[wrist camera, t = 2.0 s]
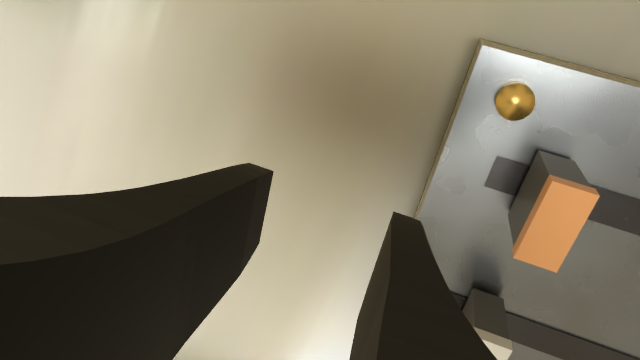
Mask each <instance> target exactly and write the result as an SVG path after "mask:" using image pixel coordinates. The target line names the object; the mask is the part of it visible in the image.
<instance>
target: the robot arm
mask: <svg viewBox="0 0 640 360" xmlns="http://www.w3.org/2000/svg"><path fill="white" fill-rule="evenodd" d="M272 176H273V171H271V170H269V169H266V168H263V167H260V166H257V165H254V164H251V163H246V164H240V165H235V166H231V167H227V168H223V169H219V170H215V171H211V172H207V173H203V174H199V175H195V176H191V177H188V178H183V179H179V180H174V181H169V182H164V183H160V184H155V185H150V186H145V187H140V188H134V189H127V190H120V191H112V192H103V193H94V194H83V195H62V196H41V197H0V360H172V359H173V358H174V357H175V355H176V354H177V353H178V351H179V350H180V349H181V347H182V346H183V345H184V343H185V342H186V341H187V340H188V339H189V337H190V336H191V335H192V334H193V332H194V331H195V330H196V329H197V328H198V326H199V325H200V324H201V323H202V321H203V320H204V319H205V318H206V317H207V315H208V314H209V313H210V312H211V310H212V309H213V308H214V307H215V306H216V304H217V303H218V302H219V301H220V299H221V298H222V297H223V296H224V294H225V293H226V292H227V291H228V290H229V288H230V287H231V286H232V285H233V283H234V282H235V281H236V280H237V278H238V277H239V276H240V274H241V273H242V271H243V269H244V268H245V266H246V265H247V263H248V261H249V260H250V258H251V256H252V255H253V253H254V251H255V249H256V248H257V246H258V244H259V241H260V236H261V231H262V226H263V221H264V216H265V211H266V206H267V201H268V196H269V191H270V186H271V181H272ZM350 360H497V358H496V357H495V356H494V355H493V354H492V352H491V351H490V350H489V348H488V347H487V346H486V345H485V343H484V342H483V341H482V339H481V338H480V336H479V335H478V334H477V332H476V331H475V329H474V328H473V326H472V325H471V324H470V322H469V321H468V319H467V318H466V316H465V315H464V313H463V312H462V310H461V309H460V307H459V305H458V304H457V302H456V300H455V298H454V297H453V295H452V293H451V291H450V289H449V288H448V286H447V284H446V282H445V280H444V277H443V275H442V273H441V271H440V269H439V267H438V264H437V262H436V260H435V257H434V255H433V253H432V250H431V247H430V245H429V242H428V239H427V236H426V234H425V230H424V227H423V225H422V223H421V221H420V220H417V219H414V218H411V217H408V216H405V215H402V214H399V213H396V212H393V215H392V218H391V221H390V224H389V227H388V229H387V232H386V235H385V238H384V241H383V244H382V247H381V250H380V253H379V256H378V258H377V261H376V264H375V267H374V270H373V273H372V276H371V279H370V282H369V285H368V288H367V291H366V294H365V297H364V300H363V304H362V307H361V310H360V313H359V316H358V319H357V324H356V329H355V334H354V339H353V344H352V350H351V355H350Z"/></svg>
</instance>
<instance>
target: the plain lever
mask: <svg viewBox="0 0 640 360" xmlns="http://www.w3.org/2000/svg"><path fill="white" fill-rule="evenodd" d="M462 312H463V313H464V315H465V316H466V318H467V319H468V321H469V322H470V324H471V325H472V326H473V328H474V329H475V331H476V332H477V334H478V335H479V336H480V338H481V339H482V341H483V342H484V343H485V345H486V346H487V347H488V348H489V350H490V351H491V352H492V354H493V355H494V356H495V357H496V358H497V360H508V358H509V356H510V355H511V353H512V351H513V350H512V343H511V340H509V336H508V328H507V321H506V313H505V305H504V299H503V298H500V297H497V296H494V295H492V294H489V293H486V292H483V291H480V290H477V289H475V288H473V289H472V291H471V293H470V295H469V298H468V300H467V302H466V304H465V306H464V308H463V310H462Z"/></svg>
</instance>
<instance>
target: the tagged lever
mask: <svg viewBox="0 0 640 360" xmlns="http://www.w3.org/2000/svg"><path fill="white" fill-rule="evenodd" d="M599 197H600V195H599V193H598V192H597V190H596V189H595V188H592V187H591V186H590V184H589V183H588V181H587V180H586V178H585V176H584V175H583V173H582V172H581V170H580V168H579V167H578V165H577V164H576V162H575V161H573V160H570V159H566V158H563V157H560V156H557V155H553V154H550V153H547V152H543V151H540V150H538V152H537V154H536V156H535V158H534V160H533V162H532V164H531V167H530V169H529V171H528V173H527V175H526V177H525V179H524V181H523V183H522V186H521V188H520V190H519V192H518V194H517V196H516V198H515V200H514V202H513V205H512V207H511V209H510V211H509V213H508V220H509V225H510V230H511V235H512V241H513V246H514V247H513V249H512V253H513V258H515V259H518V260H521V261H524V262H527V263H529V264H532V265H535V266H538V267H541V268H544V269H547V270H550V271H553V272H556V273H557V271H558V270H559V268H560V266H561V264H562V262H563V261H564V259H565V257H566V255H567V254H568V252H569V250H570V248H571V247H572V245H573V243H574V241H575V239H576V238H577V236H578V234H579V232H580V231H581V229H582V227H583V225H584V224H585V222H586V220H587V218H588V216H589V215H590V213H591V211H592V209H593V208H594V206H595V204H596V202H597V200H598V199H599Z"/></svg>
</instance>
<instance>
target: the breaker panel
mask: <svg viewBox="0 0 640 360" xmlns="http://www.w3.org/2000/svg"><path fill="white" fill-rule="evenodd" d="M538 150H540V151H543V152H547V153H550V154H553V155H557V156H560V157H563V158H566V159H570V160H573V161H575V162H576V164H577V165H578V167H579V168H580V170H581V172H582V173H583V175H584V176H585V178H586V180H587V181H588V183H589V184H590V186H591V187H592V188H595V189H596V190H597V192H598V193H599V195H600V197H599V199H598V200H597V202H596V204H595V206H594V208H593V209H592V211H591V213H590V215H589V216H588V218H587V220H586V222H585V224H584V225H583V227H582V229H581V231H580V232H579V234H578V236H577V238H576V239H575V241H574V243H573V245H572V247H571V248H570V250H569V252H568V254H567V255H566V257H565V259H564V261H563V262H562V264H561V266H560V268H559V270H558V271H557V273H556V272H553V271H550V270H547V269H544V268H541V267H538V266H535V265H532V264H529V263H527V262H524V261H521V260H518V259H515V258H513V253H512V249H513V247H514V246H513V241H512V235H511V230H510V225H509V220H508V213H509V211H510V209H511V207H512V205H513V202H514V200H515V198H516V196H517V194H518V192H519V190H520V188H521V186H522V183H523V181H524V179H525V177H526V175H527V173H528V171H529V169H530V167H531V164H532V162H533V160H534V158H535V156H536V154H537V152H538ZM414 219H417V220H420V221H421V223H422V225H423V227H424V230H425V234H426V236H427V239H428V242H429V245H430V247H431V250H432V253H433V255H434V257H435V260H436V262H437V264H438V267H439V269H440V271H441V273H442V275H443V277H444V280H445V282H446V284H447V286H448V288H449V289H450V291H451V293H452V295H453V297H454V298H455V300H456V302H457V304H458V305H459V307H460V309H461V310H463V308H464V306H465V304H466V302H467V300H468V298H469V295H470V293H471V291H472V289H473V288H475V289H477V290H480V291H483V292H486V293H489V294H492V295H494V296H497V297H500V298H503V299H504V305H505V313H506V321H507V328H508V336H509V340H511V343H512V350H513V351H512V353H511V355H510V356H509V358H508V360H640V82H639V81H635V80H632V79H628V78H624V77H621V76H617V75H613V74H609V73H606V72H602V71H598V70H595V69H591V68H587V67H584V66H580V65H576V64H573V63H569V62H565V61H561V60H558V59H554V58H550V57H547V56H543V55H539V54H536V53H532V52H528V51H525V50H521V49H517V48H513V47H510V46H506V45H502V44H499V43H495V42H491V41H488V40H484V39H480V41H479V43H478V46H477V49H476V51H475V54H474V57H473V60H472V62H471V65H470V68H469V70H468V73H467V76H466V78H465V81H464V84H463V87H462V89H461V92H460V95H459V97H458V100H457V103H456V105H455V108H454V111H453V114H452V116H451V119H450V122H449V124H448V127H447V130H446V133H445V135H444V138H443V141H442V143H441V146H440V149H439V151H438V154H437V157H436V160H435V162H434V165H433V168H432V170H431V173H430V176H429V178H428V181H427V184H426V187H425V189H424V192H423V195H422V197H421V200H420V203H419V206H418V208H417V211H416V214H415V216H414Z"/></svg>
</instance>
